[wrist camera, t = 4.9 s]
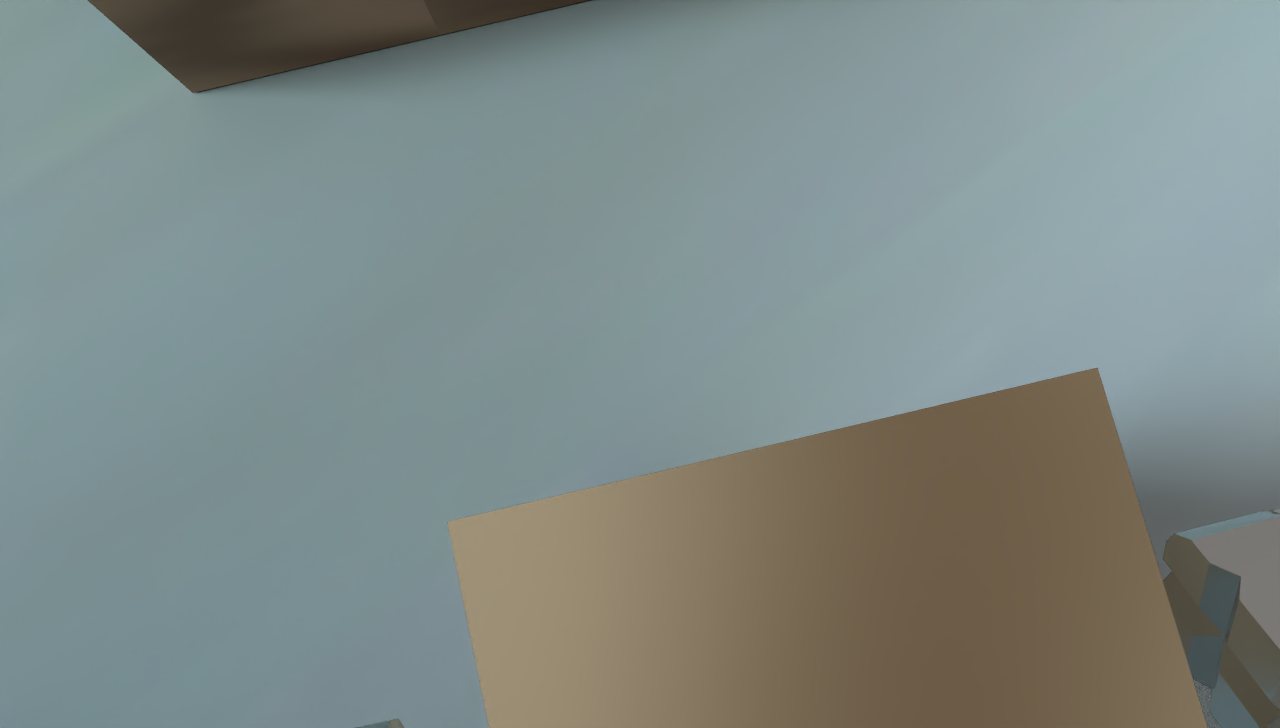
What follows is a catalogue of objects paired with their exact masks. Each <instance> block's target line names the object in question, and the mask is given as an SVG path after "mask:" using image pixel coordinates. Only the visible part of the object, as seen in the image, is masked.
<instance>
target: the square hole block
mask: <svg viewBox="0 0 1280 728" xmlns="http://www.w3.org/2000/svg"><path fill="white" fill-rule="evenodd" d="M88 1H89V2H90V3H91V4H92V5H94V6H95V7H96V8H97V9H98V10H99V11H100V12H102V13H103V14H104V15H105V16H106V17H107V18H108V19H109V20H111V21H112V22H113V23H114V24H115V25H116V26H117V27H119V28H120V29H121V30H122V31H123V32H124V33H125V34H127V35H128V36H129V37H130V38H131V39H132V40H133V41H134V42H136V43H137V44H138V45H139V46H140V47H141V48H142V49H144V50H145V51H146V52H147V53H148V54H149V55H150V56H152V57H153V58H154V59H155V60H156V61H157V62H158V63H159V64H161V65H162V66H163V67H164V68H165V69H166V70H167V71H169V72H170V73H171V74H172V75H173V76H174V77H175V78H177V79H178V80H179V81H180V82H181V83H182V84H183V85H184V86H186V87H187V88H188V89H189V90H190V91H191V92H192V93H195V92H199V91H203V90H207V89H212V88H216V87H220V86H224V85H229V84H233V83H237V82H242V81H246V80H250V79H254V78H259V77H263V76H267V75H272V74H276V73H280V72H284V71H289V70H293V69H297V68H301V67H306V66H310V65H314V64H319V63H323V62H327V61H331V60H336V59H340V58H344V57H348V56H353V55H357V54H361V53H366V52H370V51H374V50H378V49H383V48H387V47H391V46H396V45H400V44H404V43H408V42H413V41H417V40H421V39H425V38H430V37H434V36H438V35H443V34H447V33H451V32H455V31H460V30H464V29H468V28H472V27H477V26H481V25H485V24H490V23H494V22H498V21H502V20H507V19H511V18H515V17H520V16H524V15H528V14H532V13H537V12H541V11H545V10H549V9H554V8H558V7H562V6H567V5H571V4H575V3H579V2H584V1H588V0H88Z"/></svg>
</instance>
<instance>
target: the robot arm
mask: <svg viewBox="0 0 1280 728" xmlns="http://www.w3.org/2000/svg"><path fill="white" fill-rule="evenodd" d="M1163 559H1164V561H1165V562H1166V563H1167V565H1168V566H1169V567H1170V569H1171V570H1172V572H1171V573H1170V574H1169V575H1168V576H1167V577H1166V578H1165V579H1164V580H1163V584H1164V587H1165V590H1166V593H1167V597H1168V600H1169V603H1170V606H1171V610H1172V613H1173V616H1174V619H1175V623H1176V626H1177V629H1178V633H1179V636H1180V639H1181V642H1182V646H1183V649H1184V652H1185V655H1186V659H1187V662H1188V665H1189V668H1190V672H1191V675H1192V678H1193V679H1194V680H1196V681H1198V682H1200V683H1201V684H1203V685H1205V686H1207V687H1209V688H1211V698H1210V710H1209V711H1210V713H1211V714H1212V715H1213V717H1214V718H1215V720H1216V721H1217V723H1218V724H1219V725H1220V727H1221V728H1280V509H1276V510H1272V511H1268V512H1266V511H1261V512H1257V513H1253V514H1249V515H1245V516H1241V517H1237V518H1233V519H1229V520H1225V521H1221V522H1217V523H1213V524H1209V525H1205V526H1201V527H1198V528H1194V529H1190V530H1186V531H1182V532H1178V533H1174V534H1173V535H1172V536H1171V537H1170V538H1169V539H1168V540H1167V541H1166V546H1165V550H1164V555H1163ZM356 728H404V727H403V725H402V723H401V722H400V720H399V719H393V720H388V721H384V722H379V723H374V724H370V725H365V726H360V727H356Z"/></svg>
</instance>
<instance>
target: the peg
mask: <svg viewBox="0 0 1280 728" xmlns="http://www.w3.org/2000/svg"><path fill="white" fill-rule="evenodd" d="M447 524H448V528H449V533H450V538H451V543H452V548H453V553H454V558H455V563H456V568H457V573H458V578H459V583H460V587H461V592H462V597H463V602H464V607H465V612H466V617H467V622H468V627H469V632H470V637H471V642H472V646H473V651H474V656H475V661H476V666H477V671H478V676H479V681H480V686H481V691H482V696H483V701H484V706H485V710H486V715H487V720H488V725H489V728H1208V727H1207V724H1206V721H1205V717H1204V714H1203V711H1202V708H1201V704H1200V701H1199V698H1198V695H1197V691H1196V688H1195V685H1194V682H1193V678H1192V675H1191V672H1190V668H1189V665H1188V662H1187V659H1186V655H1185V652H1184V649H1183V646H1182V642H1181V639H1180V636H1179V633H1178V629H1177V626H1176V623H1175V619H1174V616H1173V613H1172V610H1171V606H1170V603H1169V600H1168V597H1167V593H1166V590H1165V587H1164V584H1163V580H1162V577H1161V574H1160V570H1159V567H1158V564H1157V561H1156V557H1155V554H1154V551H1153V548H1152V544H1151V541H1150V538H1149V535H1148V531H1147V528H1146V525H1145V521H1144V518H1143V515H1142V512H1141V508H1140V505H1139V502H1138V499H1137V495H1136V492H1135V489H1134V485H1133V482H1132V479H1131V476H1130V472H1129V469H1128V466H1127V463H1126V459H1125V456H1124V453H1123V450H1122V446H1121V443H1120V440H1119V436H1118V433H1117V430H1116V427H1115V423H1114V420H1113V417H1112V414H1111V410H1110V407H1109V404H1108V401H1107V397H1106V394H1105V391H1104V387H1103V384H1102V381H1101V378H1100V374H1099V371H1098V368H1094V369H1090V370H1086V371H1081V372H1077V373H1073V374H1069V375H1065V376H1060V377H1056V378H1052V379H1048V380H1043V381H1039V382H1035V383H1031V384H1027V385H1022V386H1018V387H1014V388H1010V389H1005V390H1001V391H997V392H993V393H989V394H984V395H980V396H976V397H972V398H967V399H963V400H959V401H955V402H951V403H946V404H942V405H938V406H934V407H930V408H925V409H921V410H917V411H913V412H908V413H904V414H900V415H896V416H892V417H887V418H883V419H879V420H875V421H870V422H866V423H862V424H858V425H854V426H849V427H845V428H841V429H837V430H832V431H828V432H824V433H820V434H816V435H811V436H807V437H803V438H799V439H794V440H790V441H786V442H782V443H778V444H773V445H769V446H765V447H761V448H757V449H752V450H748V451H744V452H740V453H735V454H731V455H727V456H723V457H719V458H714V459H710V460H706V461H702V462H697V463H693V464H689V465H685V466H681V467H676V468H672V469H668V470H664V471H659V472H655V473H651V474H647V475H643V476H638V477H634V478H630V479H626V480H622V481H617V482H613V483H609V484H605V485H600V486H596V487H592V488H588V489H584V490H579V491H575V492H571V493H567V494H562V495H558V496H554V497H550V498H546V499H541V500H537V501H533V502H529V503H524V504H520V505H516V506H512V507H508V508H503V509H499V510H495V511H491V512H487V513H482V514H478V515H474V516H470V517H465V518H461V519H457V520H453V521H449V522H447Z"/></svg>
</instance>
